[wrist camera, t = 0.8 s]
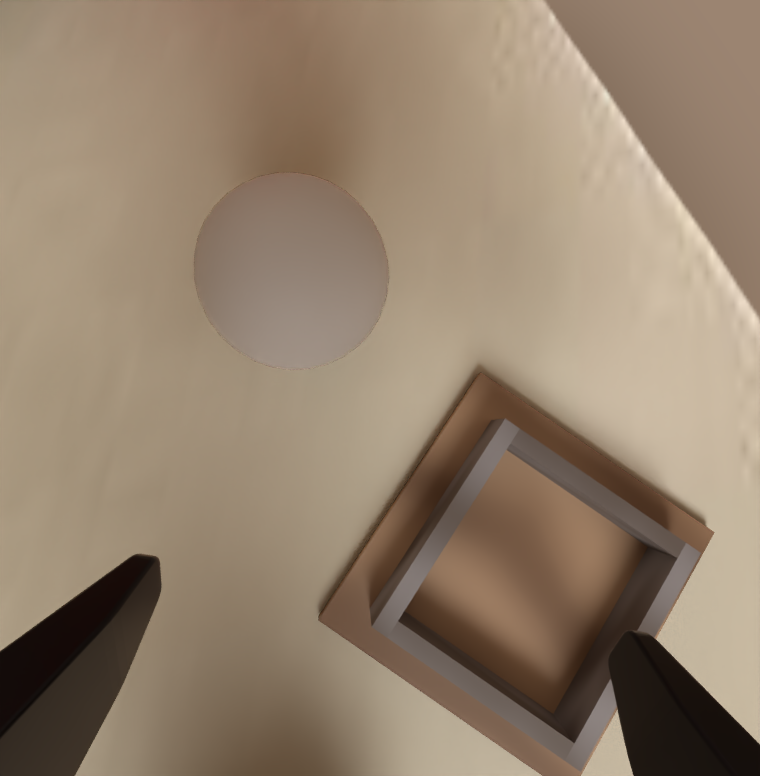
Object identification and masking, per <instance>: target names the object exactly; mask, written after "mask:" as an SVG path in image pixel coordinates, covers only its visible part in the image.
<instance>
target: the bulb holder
mask: <svg viewBox="0 0 760 776" xmlns="http://www.w3.org/2000/svg"><path fill="white" fill-rule="evenodd" d="M713 534H714V532H713V531H712V530H710V529H709V528H707V527H706V526H704V525H703V524H701V523H700V522H699V521H697V520H696V519H694V518H693V517H691V516H690V515H688V514H687V513H685V512H684V511H683V510H681V509H680V508H678V507H677V506H675V505H674V504H672V503H671V502H669V501H668V500H667V499H665V498H664V497H662V496H661V495H659V494H658V493H656V492H655V491H653V490H652V489H650V488H649V487H648V486H646V485H645V484H643V483H642V482H640V481H639V480H637V479H636V478H634V477H633V476H632V475H630V474H629V473H627V472H626V471H624V470H623V469H621V468H620V467H618V466H617V465H616V464H614V463H613V462H611V461H610V460H608V459H607V458H605V457H604V456H602V455H601V454H599V453H598V452H597V451H595V450H594V449H592V448H591V447H589V446H588V445H586V444H585V443H583V442H582V441H581V440H579V439H578V438H576V437H575V436H573V435H572V434H570V433H569V432H567V431H566V430H565V429H563V428H562V427H560V426H559V425H557V424H556V423H554V422H553V421H551V420H550V419H548V418H547V417H546V416H544V415H543V414H541V413H540V412H538V411H537V410H535V409H534V408H532V407H531V406H530V405H528V404H527V403H525V402H524V401H522V400H521V399H519V398H518V397H516V396H515V395H514V394H512V393H511V392H509V391H508V390H506V389H505V388H503V387H502V386H500V385H499V384H497V383H496V382H495V381H493V380H492V379H490V378H489V377H487V376H486V375H484V374H483V373H479V374H478V375H477V377H476V378H475V380H474V381H473V383H472V384H471V386H470V387H469V389H468V390H467V392H466V394H465V395H464V397H463V398H462V400H461V401H460V403H459V404H458V406H457V407H456V409H455V410H454V412H453V413H452V415H451V416H450V418H449V419H448V421H447V422H446V424H445V425H444V427H443V428H442V430H441V431H440V433H439V434H438V436H437V437H436V439H435V441H434V442H433V444H432V445H431V447H430V448H429V450H428V451H427V453H426V454H425V456H424V457H423V459H422V460H421V462H420V463H419V465H418V466H417V468H416V469H415V471H414V472H413V474H412V475H411V477H410V478H409V480H408V481H407V483H406V485H405V486H404V488H403V489H402V491H401V492H400V494H399V495H398V497H397V498H396V500H395V501H394V503H393V504H392V506H391V507H390V509H389V510H388V512H387V513H386V515H385V516H384V518H383V519H382V521H381V522H380V524H379V525H378V527H377V528H376V530H375V532H374V533H373V535H372V536H371V538H370V539H369V541H368V542H367V544H366V545H365V547H364V548H363V550H362V551H361V553H360V554H359V556H358V557H357V559H356V560H355V562H354V563H353V565H352V566H351V568H350V569H349V571H348V572H347V574H346V576H345V577H344V579H343V580H342V582H341V583H340V585H339V586H338V588H337V589H336V591H335V592H334V594H333V595H332V597H331V598H330V600H329V601H328V603H327V604H326V606H325V607H324V609H323V610H322V612H321V613H320V615H319V619H318V620H319V621H320V622H322V623H323V624H325V625H326V626H328V627H329V628H330V629H332V630H333V631H335V632H336V633H338V634H339V635H341V636H342V637H343V638H345V639H346V640H348V641H349V642H351V643H352V644H353V645H355V646H356V647H358V648H359V649H361V650H362V651H364V652H365V653H366V654H368V655H369V656H371V657H372V658H374V659H375V660H377V661H378V662H379V663H381V664H382V665H384V666H385V667H387V668H388V669H390V670H391V671H392V672H394V673H395V674H397V675H398V676H400V677H401V678H403V679H404V680H405V681H407V682H408V683H410V684H411V685H413V686H414V687H415V688H417V689H418V690H420V691H421V692H423V693H424V694H426V695H427V696H428V697H430V698H431V699H433V700H434V701H436V702H437V703H439V704H440V705H441V706H443V707H444V708H446V709H447V710H449V711H450V712H452V713H453V714H454V715H456V716H457V717H459V718H460V719H462V720H463V721H465V722H466V723H467V724H469V725H470V726H472V727H473V728H475V729H476V730H477V731H479V732H480V733H482V734H483V735H485V736H486V737H488V738H489V739H490V740H492V741H493V742H495V743H496V744H498V745H499V746H501V747H502V748H503V749H505V750H506V751H508V752H509V753H511V754H512V755H514V756H515V757H516V758H518V759H519V760H521V761H522V762H524V763H525V764H526V765H528V766H529V767H531V768H532V769H534V770H535V771H537V772H538V773H539V774H541V775H542V776H581V774H582V772H583V771H584V769H585V767H586V765H587V763H588V762H589V760H590V758H591V756H592V754H593V752H594V751H595V749H596V747H597V745H598V743H599V742H600V740H601V738H602V736H603V734H604V732H605V731H606V729H607V727H608V725H609V723H610V722H611V720H612V718H613V716H614V714H615V712H616V711H617V705H616V700H615V695H614V691H613V686H612V682H611V677H610V672H609V667H608V657H609V654H610V652H611V650H612V649H613V648H614V646H615V645H616V643H617V642H618V640H619V639H620V637H621V636H622V634H623V633H624V632H625V631H627V630H634V631H641V632H646V633H648V634H650V635H652V636H653V637H654V638H655V639H656V638H657V636H658V634H659V632H660V631H661V629H662V627H663V625H664V623H665V622H666V620H667V618H668V616H669V614H670V612H671V611H672V609H673V607H674V605H675V603H676V601H677V600H678V598H679V596H680V594H681V592H682V591H683V589H684V587H685V585H686V583H687V581H688V580H689V578H690V576H691V574H692V572H693V571H694V569H695V567H696V565H697V563H698V561H699V560H700V558H701V556H702V554H703V552H704V551H705V549H706V547H707V545H708V543H709V541H710V540H711V538H712V536H713Z"/></svg>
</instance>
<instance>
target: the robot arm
mask: <svg viewBox="0 0 760 776" xmlns="http://www.w3.org/2000/svg"><path fill="white" fill-rule="evenodd" d="M160 593H161V571H160V561H159V559H158V557H156V556H152V555H145V554H135V555H133V556H131V557H130V558H128V559H127V560H125V561H124V562H123V563H121V564H120V565H119V566H117V567H116V568H114V569H113V570H112V571H110V572H109V573H108V574H106V575H105V576H103V577H102V578H101V579H99V580H98V581H96V582H95V583H94V584H92V585H91V586H90V587H88V588H87V589H85V590H84V591H83V592H81V593H80V594H79V595H77V596H76V597H74V598H73V599H72V600H70V601H69V602H67V603H66V604H65V605H63V606H62V607H61V608H59V609H58V610H56V611H55V612H54V613H52V614H51V615H50V616H48V617H47V618H45V619H44V620H43V621H41V622H40V623H38V624H37V625H36V626H34V627H33V628H32V629H30V630H29V631H27V632H26V633H25V634H23V635H22V636H21V637H19V638H18V639H16V640H15V641H14V642H12V643H11V644H9V645H8V646H7V647H5V648H4V649H3V650H1V651H0V776H75V774H76V772H77V770H78V769H79V767H80V765H81V763H82V761H83V759H84V757H85V755H86V754H87V752H88V750H89V748H90V746H91V744H92V742H93V740H94V739H95V737H96V735H97V733H98V731H99V729H100V727H101V725H102V724H103V722H104V720H105V718H106V716H107V714H108V712H109V710H110V709H111V707H112V705H113V703H114V701H115V699H116V697H117V695H118V693H119V691H120V689H121V687H122V685H123V683H124V680H125V678H126V676H127V674H128V671H129V669H130V667H131V664H132V662H133V659H134V657H135V655H136V652H137V650H138V647H139V645H140V643H141V640H142V638H143V635H144V633H145V630H146V628H147V626H148V623H149V621H150V618H151V616H152V614H153V611H154V609H155V606H156V604H157V602H158V599H159V596H160ZM608 667H609V672H610V677H611V682H612V686H613V691H614V695H615V700H616V705H617V709H618V714H619V718H620V723H621V728H622V732H623V737H624V741H625V746H626V750H627V754H628V758H629V761H630V765H631V768H632V772H633V775H634V776H760V744H759V743H758V742H757V741H756V740H755V739H754V738H753V737H752V736H751V735H750V734H749V733H748V732H747V731H746V730H745V729H744V728H743V727H742V726H741V725H740V724H739V723H738V722H737V721H736V720H735V719H734V718H733V717H732V716H731V715H730V714H729V713H728V712H727V711H726V710H725V709H724V708H723V707H722V706H721V705H720V704H719V703H718V702H717V701H716V700H715V699H714V698H713V697H712V696H711V695H710V694H709V693H708V692H707V690H706V689H705V688H704V687H703V686H702V685H701V684H700V683H699V682H698V681H697V680H696V679H695V678H694V677H693V676H692V675H691V674H690V673H689V672H688V671H687V670H686V669H685V668H684V667H683V666H682V665H681V664H680V663H679V662H678V661H677V660H676V659H675V658H674V657H673V656H672V655H671V654H670V653H669V652H668V651H667V650H666V649H665V648H664V647H663V646H662V645H661V644H660V643H659V642H658V641H657V640H656V639H655V638H654V637H653V636H652V635H650V634H648V633H646V632H641V631H634V630H627V631H625V632H624V633H623V634H622V636H621V637H620V639H619V640H618V642H617V643H616V645H615V646H614V648H613V649H612V650H611V652H610V654H609V657H608Z"/></svg>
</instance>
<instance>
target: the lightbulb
mask: <svg viewBox="0 0 760 776" xmlns="http://www.w3.org/2000/svg"><path fill="white" fill-rule="evenodd" d="M194 280H195V284H196V289H197V293H198V297H199V300H200V302H201V305H202V307H203V309H204V311H205V313H206V315H207V318H208V320H209V321H210V323H211V324H212V325H213V327H214V328H215V329H216V331H217V332H218V334H219V335H220V336H221V337H222V338H223V339H224V340H225V341H227V342H228V343H229V344H230V345H231V346H232V347H233V348H234V349H236V350H237V351H238V352H240V353H242V354H243V355H245V356H247V357H249V358H250V359H252V360H254V361H256V362H259V363H262V364H264V365H267V366H270V367H274V368H281V369H288V370H298V369H311V368H315V367H319V366H323V365H327V364H329V363H331V362H334V361H336V360H338V359H340V358H342V357H344V356H345V355H347V354H348V353H350V352H351V351H352V350H354V349H355V348H356V347H358V346H359V345H360V344H361V343H362V342H363V340H364V339H365V338H366V337H367V336H368V335H369V334H370V333H371V331H372V329H373V328H374V326H375V324H376V323H377V321H378V319H379V318H380V315H381V312H382V309H383V307H384V304H385V301H386V297H387V290H388V283H389V270H388V259H387V256H386V252H385V248H384V245H383V241H382V238H381V236H380V234H379V232H378V230H377V228H376V226H375V224H374V222H373V220H372V219H371V218H370V216H369V215H368V214H367V213H366V211H365V210H364V209H363V207H362V206H361V205H360V204H359V203H358V202H357V201H356V200H355V199H354V198H353V197H352V196H350V195H349V194H348V193H347V192H346V191H345V190H343V189H341V188H340V187H338V186H336V185H335V184H333V183H331V182H329V181H327V180H324V179H321V178H318V177H316V176H313V175H307V174H301V173H295V172H294V173H273V174H268V175H263V176H259V177H256V178H254V179H251V180H249V181H247V182H244V183H242V184H241V185H239V186H238V187H236V188H235V189H233V190H232V191H230V192H229V193H227V194H226V195H225V196H224V197H223V198H222V199H221V200H220V201H219V202H218V203H217V204H216V205H215V206H214V207H213V209H212V210H211V212H210V213H209V215H208V216H207V218H206V219H205V221H204V223H203V225H202V228H201V230H200V233H199V235H198V238H197V243H196V248H195V254H194Z"/></svg>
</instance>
